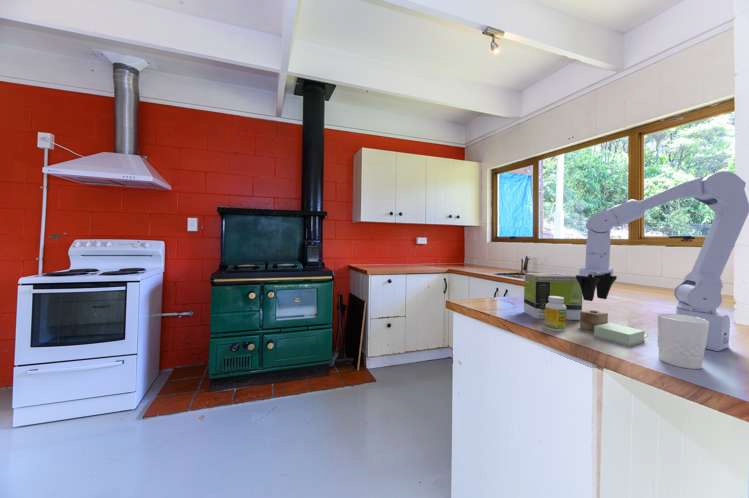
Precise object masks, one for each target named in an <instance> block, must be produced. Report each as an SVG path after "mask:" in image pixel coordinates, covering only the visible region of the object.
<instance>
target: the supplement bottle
mask: <svg viewBox="0 0 749 498" xmlns="http://www.w3.org/2000/svg"><path fill="white" fill-rule="evenodd" d="M548 301H549V303H547V304H546V307H545V319H544V328H545V329H546V330H549V331H554V332H565V331H566V325H567V323H566V322H567V320H566V306H565V305H564V304H563V303H564V298H563V297H559V296H549V297H548Z"/></svg>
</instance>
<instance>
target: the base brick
mask: <svg viewBox="0 0 749 498" xmlns="http://www.w3.org/2000/svg"><path fill="white" fill-rule="evenodd" d="M644 334H645V330H643V329H640V328H639V329H638V328H633V327H629V326H624V325H620V324H617V323H612V322H608V323H607V324H602V325H597V326H594V331H593V335H592V336H593V338H597V339H601V340H605V341H608V342H612V343H616V344H619V345H623V346H625V347H626V346H627V347H632V346H635V345H639V344H641V343H645V341H646V340H645V338H644Z"/></svg>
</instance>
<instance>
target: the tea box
mask: <svg viewBox="0 0 749 498" xmlns="http://www.w3.org/2000/svg"><path fill="white" fill-rule="evenodd" d="M523 284H524V288H523V290H524V292H523V312H524V313H525V314H526V315H529V316H530V317H532V318H533V319H540V320H541V319H542V320H545V307H546V304H547V303H549V301H548V297H549V296H559V297H563V298H564V303H563V304H564V305H565V306H566V321H570V320H571V321H580V311H583V295H582V290H581V287H580V285H579V282H578V281H577V279H576V275H574V274H570V273H569V274H568V273H552V272H551V273H550V272H549V273H547V272H543V273H542V272H541V273H539V272H538V273H537V272H534V273H533V272H525V273H524V283H523Z"/></svg>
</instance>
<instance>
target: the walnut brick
mask: <svg viewBox="0 0 749 498" xmlns="http://www.w3.org/2000/svg"><path fill="white" fill-rule="evenodd" d="M607 323H609V313H608V312H605V311H604V312H603V311H599V310H595V309H593V310H592V309H587V310H582V311H580V320H579V326H580V327H579V328H580V329H583V330H587V331H592V332H594V326H597V325H602V324H607Z"/></svg>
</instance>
